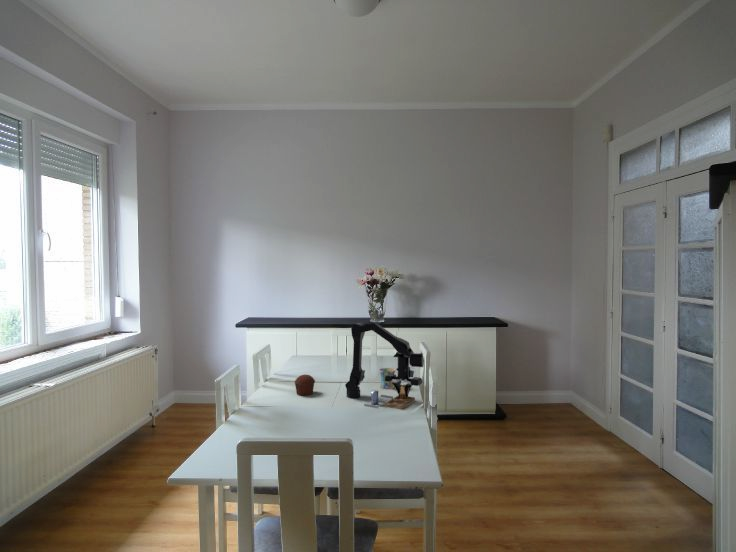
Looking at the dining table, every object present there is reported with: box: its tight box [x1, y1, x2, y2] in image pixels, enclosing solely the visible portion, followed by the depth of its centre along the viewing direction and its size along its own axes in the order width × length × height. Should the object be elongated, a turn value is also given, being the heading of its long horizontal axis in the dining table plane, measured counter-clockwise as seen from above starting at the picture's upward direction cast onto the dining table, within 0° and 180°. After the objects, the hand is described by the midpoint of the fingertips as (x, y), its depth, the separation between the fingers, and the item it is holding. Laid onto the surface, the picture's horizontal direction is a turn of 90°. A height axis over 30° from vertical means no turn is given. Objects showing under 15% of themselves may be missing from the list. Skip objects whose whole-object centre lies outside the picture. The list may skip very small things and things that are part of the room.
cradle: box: [363, 394, 394, 409], centre depth 231 cm, size 7×18×2 cm, turn 150°
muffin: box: [294, 374, 316, 397], centre depth 250 cm, size 12×11×10 cm
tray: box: [384, 394, 416, 410], centre depth 229 cm, size 9×16×2 cm, turn 150°
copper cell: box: [400, 383, 407, 399], centre depth 232 cm, size 4×4×7 cm
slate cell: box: [370, 389, 379, 405], centre depth 227 cm, size 4×4×7 cm
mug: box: [379, 367, 396, 390], centre depth 257 cm, size 12×9×11 cm
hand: (403, 396), depth 232 cm, fingers open, 4 cm apart
